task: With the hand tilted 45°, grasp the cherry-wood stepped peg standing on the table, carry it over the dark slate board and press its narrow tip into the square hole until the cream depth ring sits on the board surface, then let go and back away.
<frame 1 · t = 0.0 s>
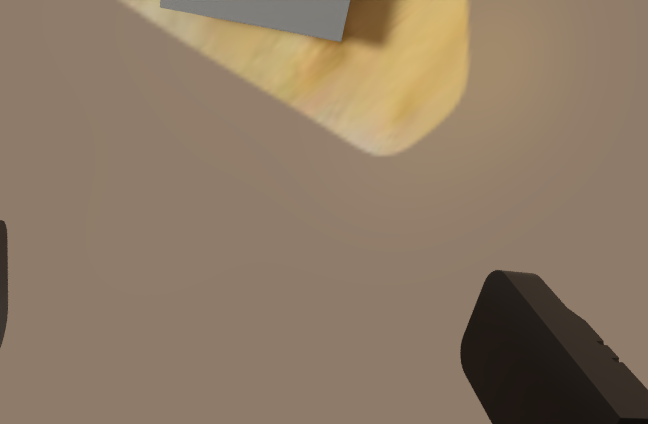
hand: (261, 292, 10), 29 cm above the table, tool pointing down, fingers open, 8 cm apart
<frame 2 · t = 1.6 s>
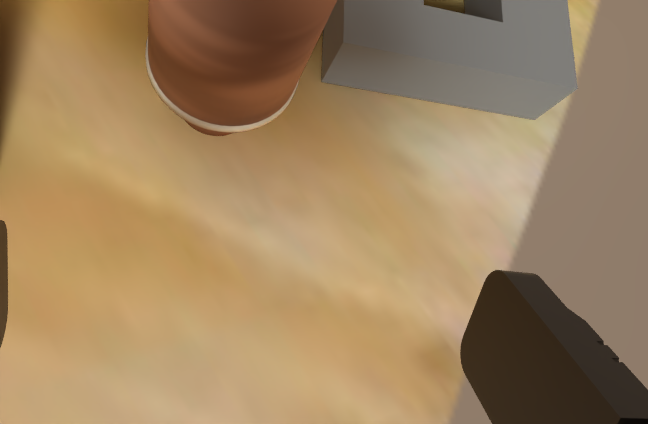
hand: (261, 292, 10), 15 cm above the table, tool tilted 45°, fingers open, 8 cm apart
peg: (215, 101, 28), on the table
board: (430, 19, 33), on the table
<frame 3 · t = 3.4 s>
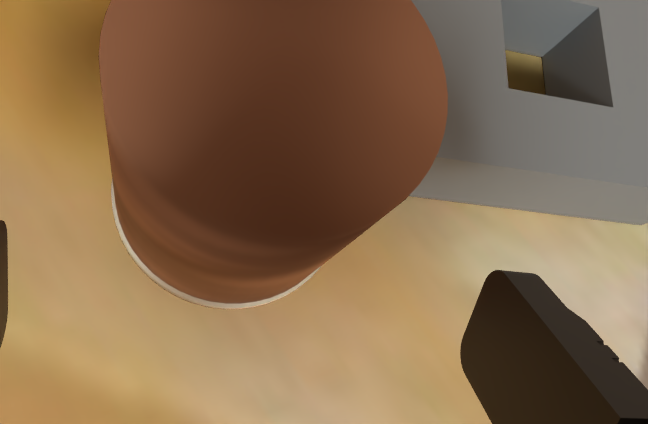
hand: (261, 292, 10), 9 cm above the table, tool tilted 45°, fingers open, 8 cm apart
peg: (217, 230, 20), on the table
board: (502, 92, 25), on the table
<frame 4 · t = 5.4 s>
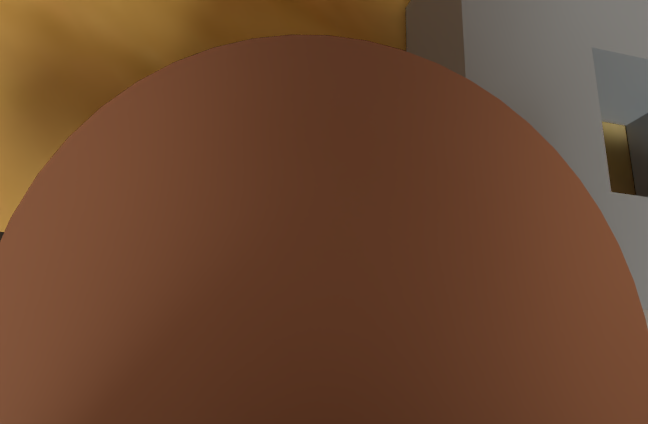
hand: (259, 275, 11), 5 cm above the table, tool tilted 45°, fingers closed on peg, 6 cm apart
peg: (218, 386, 14), on the table, touching gripper
board: (580, 174, 19), on the table
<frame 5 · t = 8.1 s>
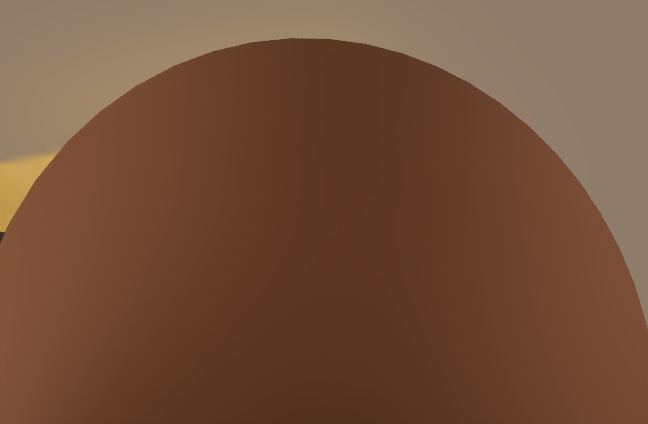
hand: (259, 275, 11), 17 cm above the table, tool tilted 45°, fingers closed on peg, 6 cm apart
peg: (218, 388, 14), point 12 cm above the table, touching gripper
when the fingers open (5 cm above the table, at t = 11.1 s): peg stays where it is, resting on board.
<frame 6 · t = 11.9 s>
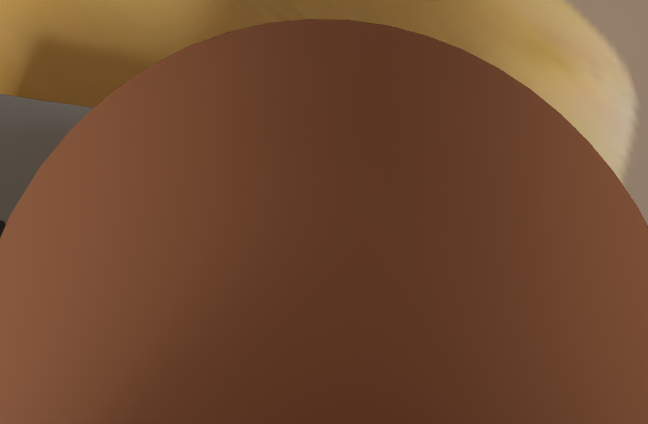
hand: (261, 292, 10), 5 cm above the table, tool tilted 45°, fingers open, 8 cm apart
peg: (226, 388, 14), resting on board
board: (219, 383, 14), on the table
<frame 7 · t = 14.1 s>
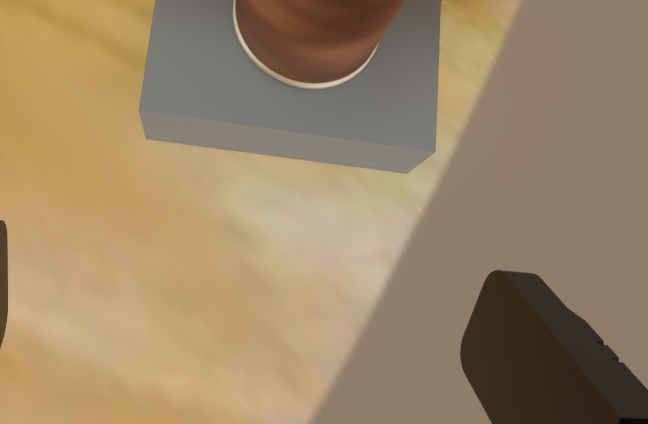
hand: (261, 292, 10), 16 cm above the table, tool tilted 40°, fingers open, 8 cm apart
peg: (294, 55, 28), resting on board
board: (291, 56, 29), on the table
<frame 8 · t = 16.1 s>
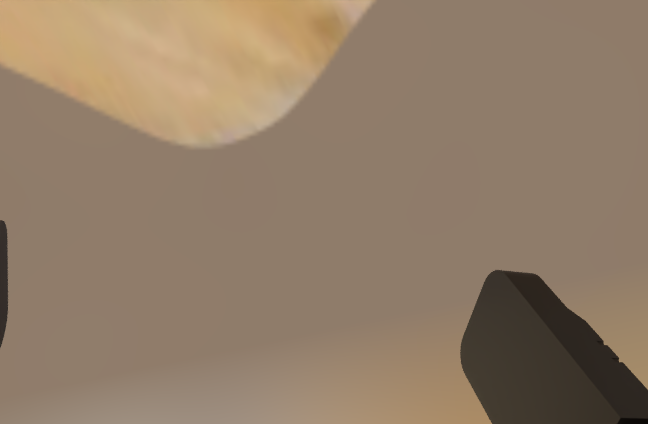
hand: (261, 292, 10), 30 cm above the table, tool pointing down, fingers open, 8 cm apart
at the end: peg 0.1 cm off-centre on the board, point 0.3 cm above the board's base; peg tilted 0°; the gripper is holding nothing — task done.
